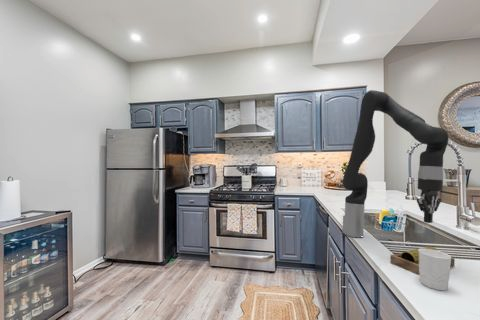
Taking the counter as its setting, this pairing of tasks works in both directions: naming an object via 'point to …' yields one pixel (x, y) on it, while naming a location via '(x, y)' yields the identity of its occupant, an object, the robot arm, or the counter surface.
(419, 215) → the counter surface
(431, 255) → the white cup
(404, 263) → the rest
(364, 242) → the counter surface
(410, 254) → the vase
